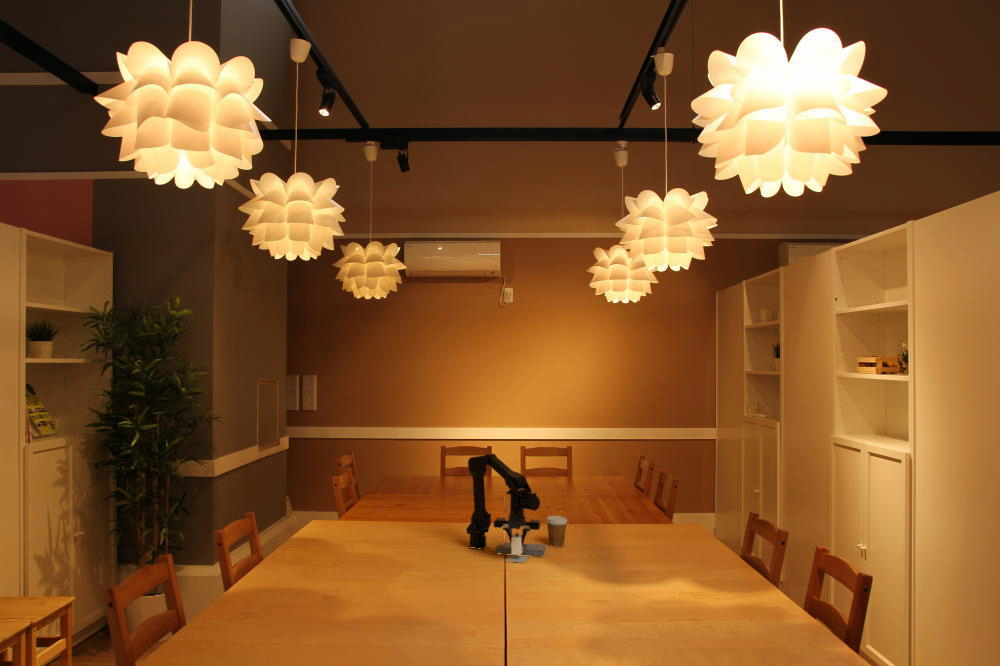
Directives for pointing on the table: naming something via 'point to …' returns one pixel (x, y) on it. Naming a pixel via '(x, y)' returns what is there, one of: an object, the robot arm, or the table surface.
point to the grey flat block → (527, 549)
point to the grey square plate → (517, 558)
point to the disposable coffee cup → (556, 530)
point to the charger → (516, 544)
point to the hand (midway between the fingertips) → (517, 544)
